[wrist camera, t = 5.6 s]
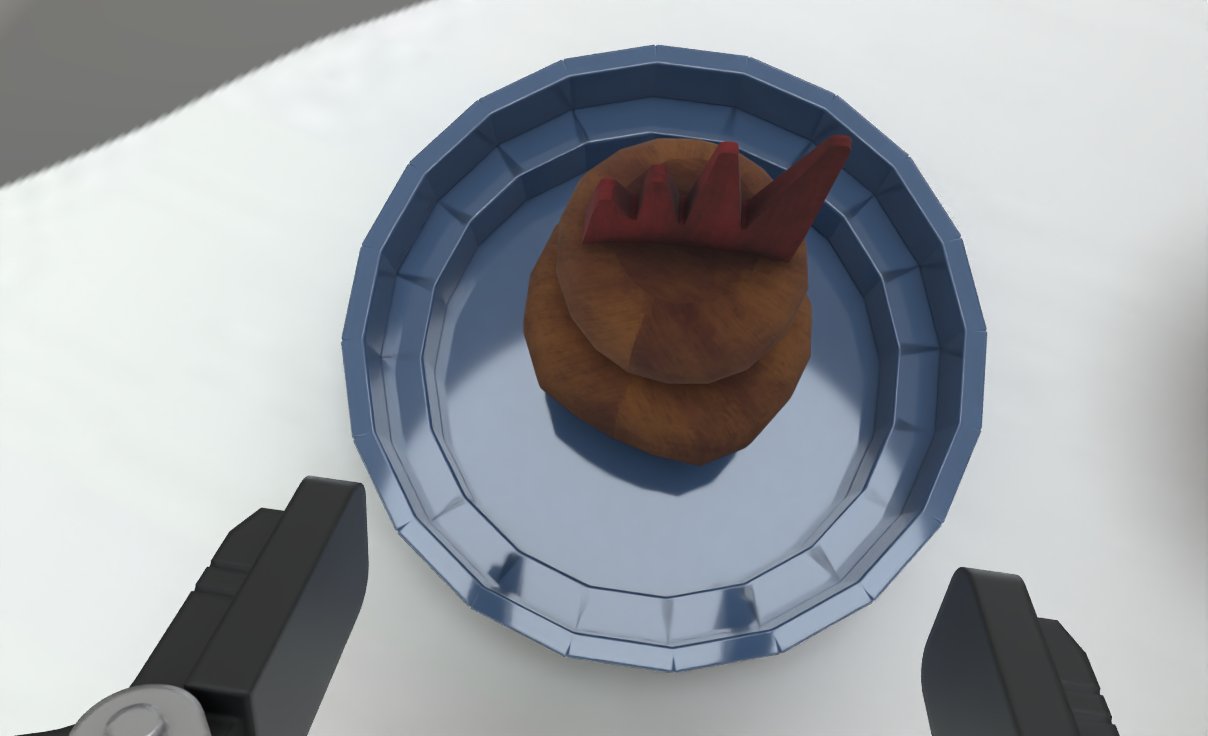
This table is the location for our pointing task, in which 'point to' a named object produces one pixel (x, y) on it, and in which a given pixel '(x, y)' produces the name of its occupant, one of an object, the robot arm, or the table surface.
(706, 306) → the wooden figurine
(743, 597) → the bowl
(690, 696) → the table surface
